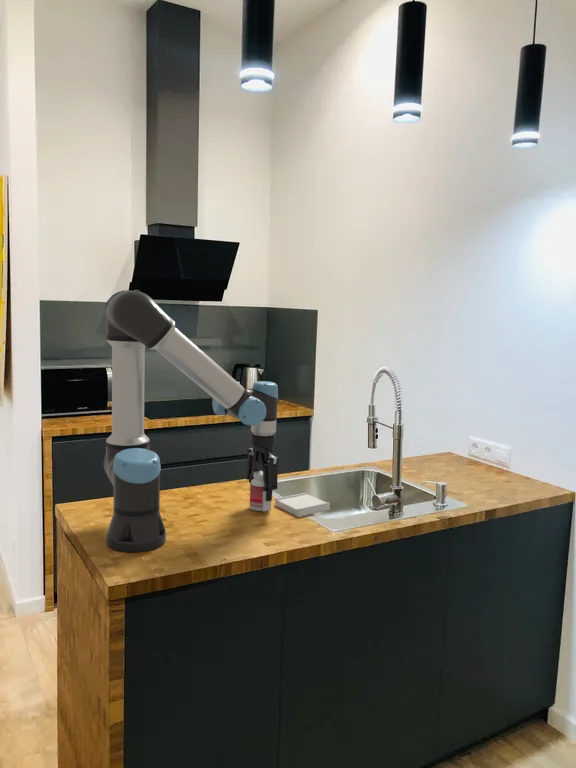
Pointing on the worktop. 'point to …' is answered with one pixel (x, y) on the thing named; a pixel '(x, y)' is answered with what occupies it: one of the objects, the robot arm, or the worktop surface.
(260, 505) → the pill bottle
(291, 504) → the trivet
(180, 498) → the worktop surface
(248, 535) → the worktop surface
